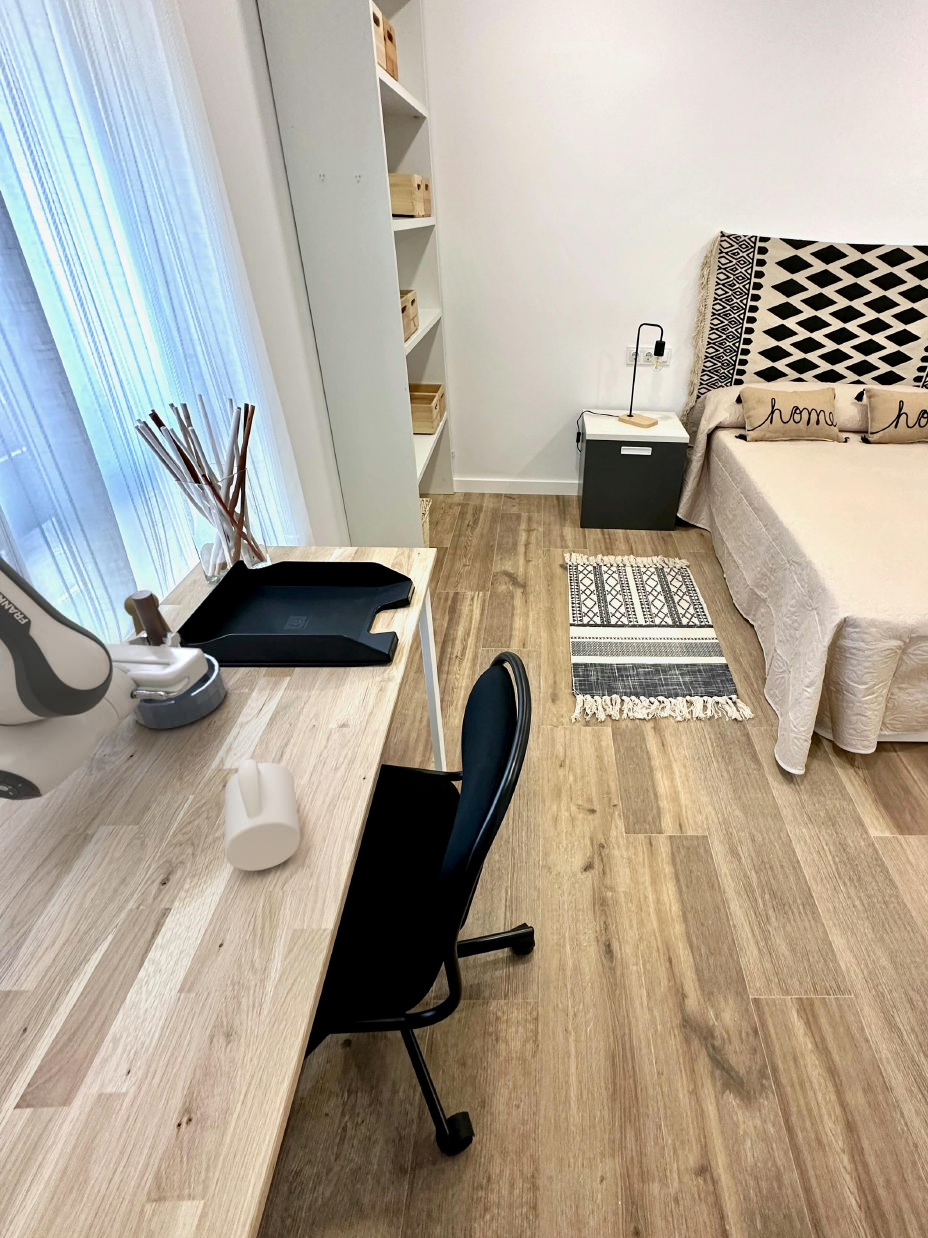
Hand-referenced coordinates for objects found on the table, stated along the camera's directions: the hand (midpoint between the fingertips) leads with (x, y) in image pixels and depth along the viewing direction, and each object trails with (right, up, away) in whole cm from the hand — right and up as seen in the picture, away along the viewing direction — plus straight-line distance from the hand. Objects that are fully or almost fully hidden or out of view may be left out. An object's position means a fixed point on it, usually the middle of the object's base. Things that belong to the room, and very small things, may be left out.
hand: (162, 635), depth 94 cm
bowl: (-1, -12, +6) cm, 13 cm away
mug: (+23, -25, -14) cm, 37 cm away
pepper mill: (-13, -3, +19) cm, 23 cm away
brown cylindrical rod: (0, -9, +5) cm, 10 cm away
